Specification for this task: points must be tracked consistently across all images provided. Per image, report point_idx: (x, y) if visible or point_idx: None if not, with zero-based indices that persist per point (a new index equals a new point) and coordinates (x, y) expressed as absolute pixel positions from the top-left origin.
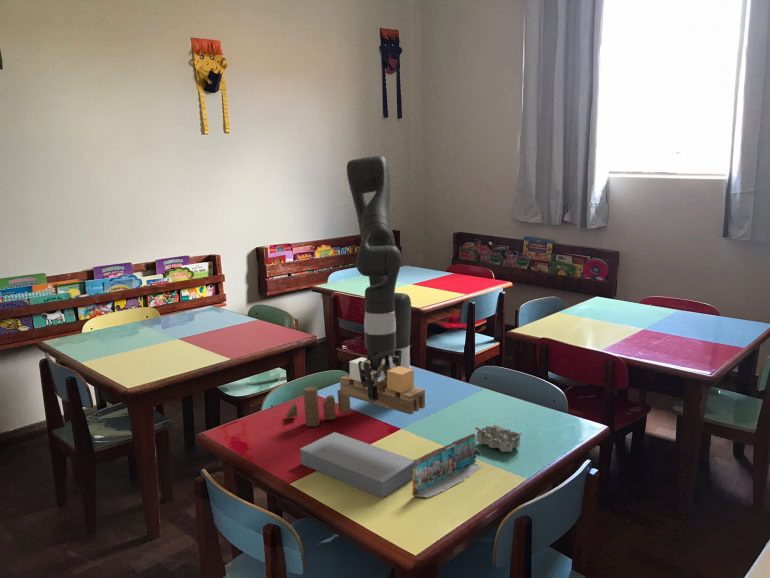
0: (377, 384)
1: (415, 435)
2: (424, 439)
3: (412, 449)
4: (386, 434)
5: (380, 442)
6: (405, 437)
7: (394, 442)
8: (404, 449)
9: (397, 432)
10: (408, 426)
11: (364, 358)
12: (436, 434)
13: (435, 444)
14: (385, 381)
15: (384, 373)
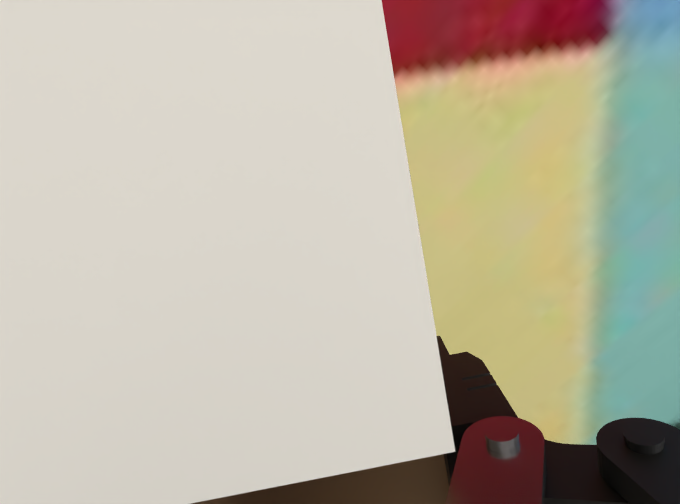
0: (226, 499)
1: (592, 167)
2: (585, 233)
3: (463, 274)
4: (496, 47)
5: (403, 106)
6: (538, 150)
7: (456, 157)
8: (436, 249)
9: (556, 70)
10: (658, 50)
11: (331, 37)
12: (670, 230)
13: (577, 305)
14: (384, 480)
15: (454, 473)
